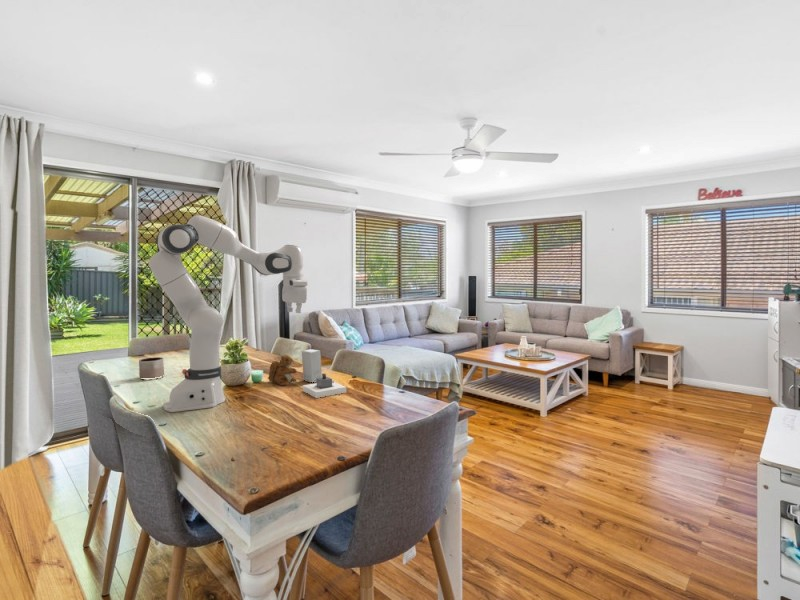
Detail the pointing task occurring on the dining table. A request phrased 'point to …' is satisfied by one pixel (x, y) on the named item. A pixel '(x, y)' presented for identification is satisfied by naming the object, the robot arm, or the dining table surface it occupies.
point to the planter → (151, 367)
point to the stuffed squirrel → (282, 371)
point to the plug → (324, 382)
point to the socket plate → (324, 390)
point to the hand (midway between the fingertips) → (294, 312)
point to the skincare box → (311, 365)
